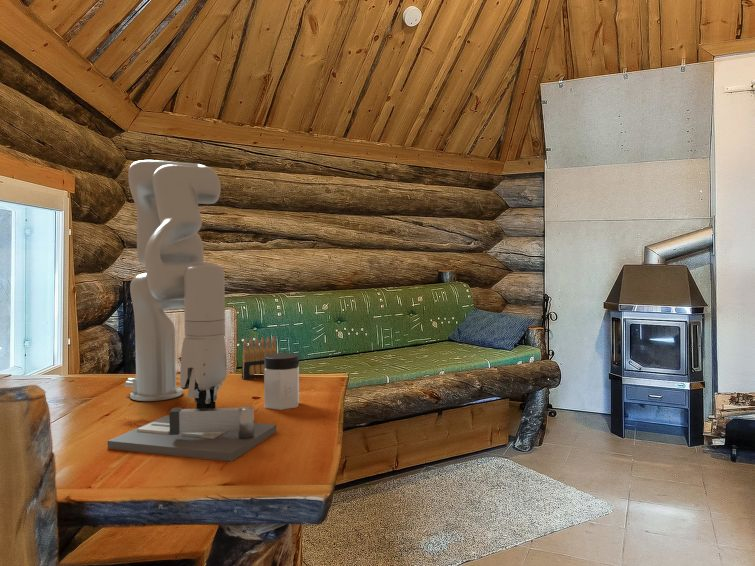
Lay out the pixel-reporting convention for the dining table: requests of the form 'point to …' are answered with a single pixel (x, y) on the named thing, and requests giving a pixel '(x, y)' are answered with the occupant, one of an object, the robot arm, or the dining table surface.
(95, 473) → the dining table surface
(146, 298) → the robot arm
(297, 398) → the jar
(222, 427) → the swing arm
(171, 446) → the label board
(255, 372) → the ammunition clip
